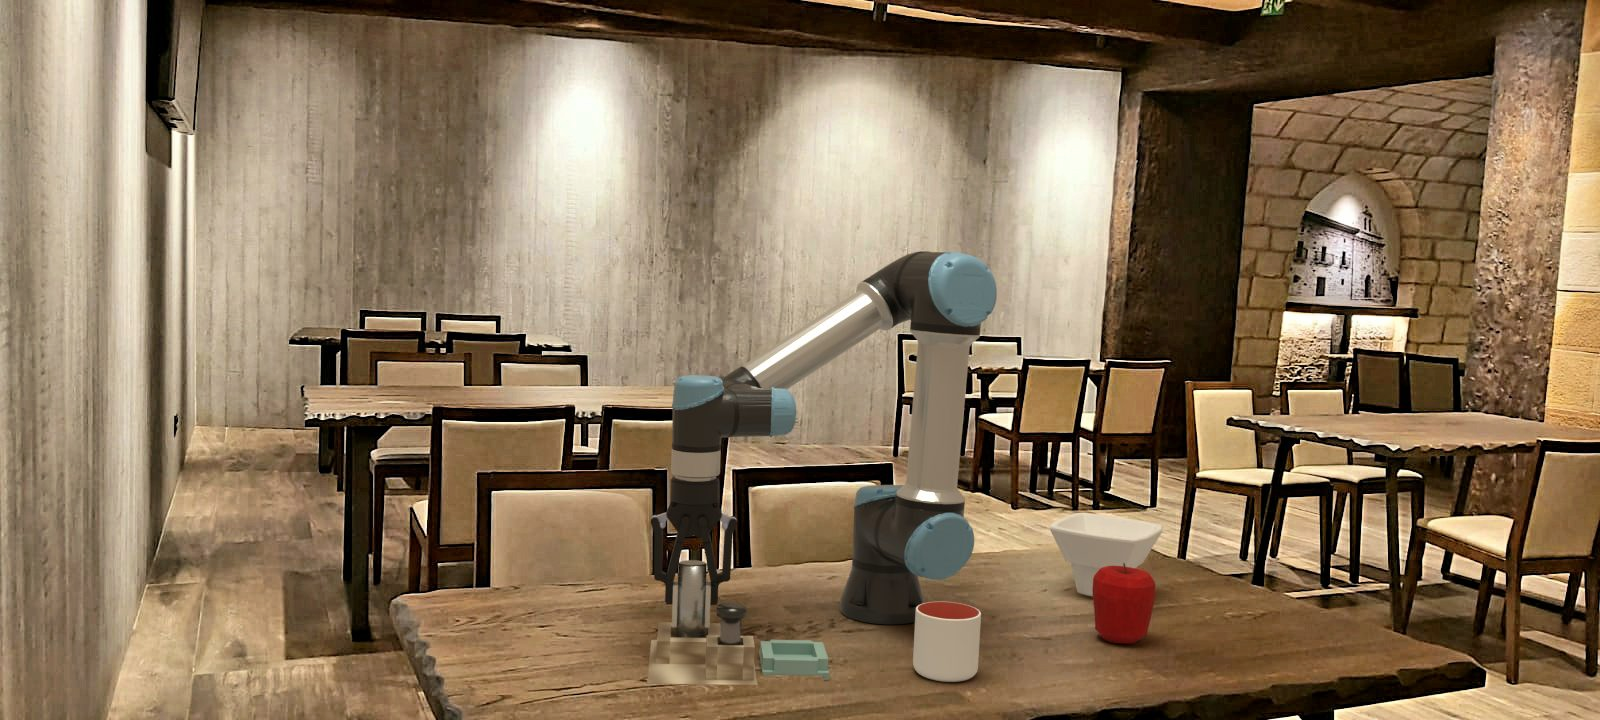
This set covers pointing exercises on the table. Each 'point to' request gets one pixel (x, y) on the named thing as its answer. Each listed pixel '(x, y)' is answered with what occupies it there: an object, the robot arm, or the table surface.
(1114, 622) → the apple
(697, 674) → the socket block
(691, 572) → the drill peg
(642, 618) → the table surface
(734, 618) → the black mushroom head peg
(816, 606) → the table surface
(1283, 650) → the table surface
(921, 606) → the cup
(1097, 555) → the bowl
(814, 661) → the tray
